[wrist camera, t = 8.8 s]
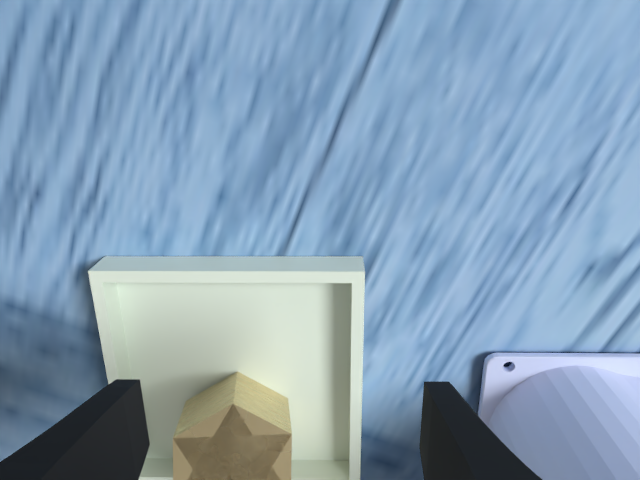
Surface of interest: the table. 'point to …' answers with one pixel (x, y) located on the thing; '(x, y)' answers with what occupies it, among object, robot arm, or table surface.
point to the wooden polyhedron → (234, 433)
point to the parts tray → (240, 344)
